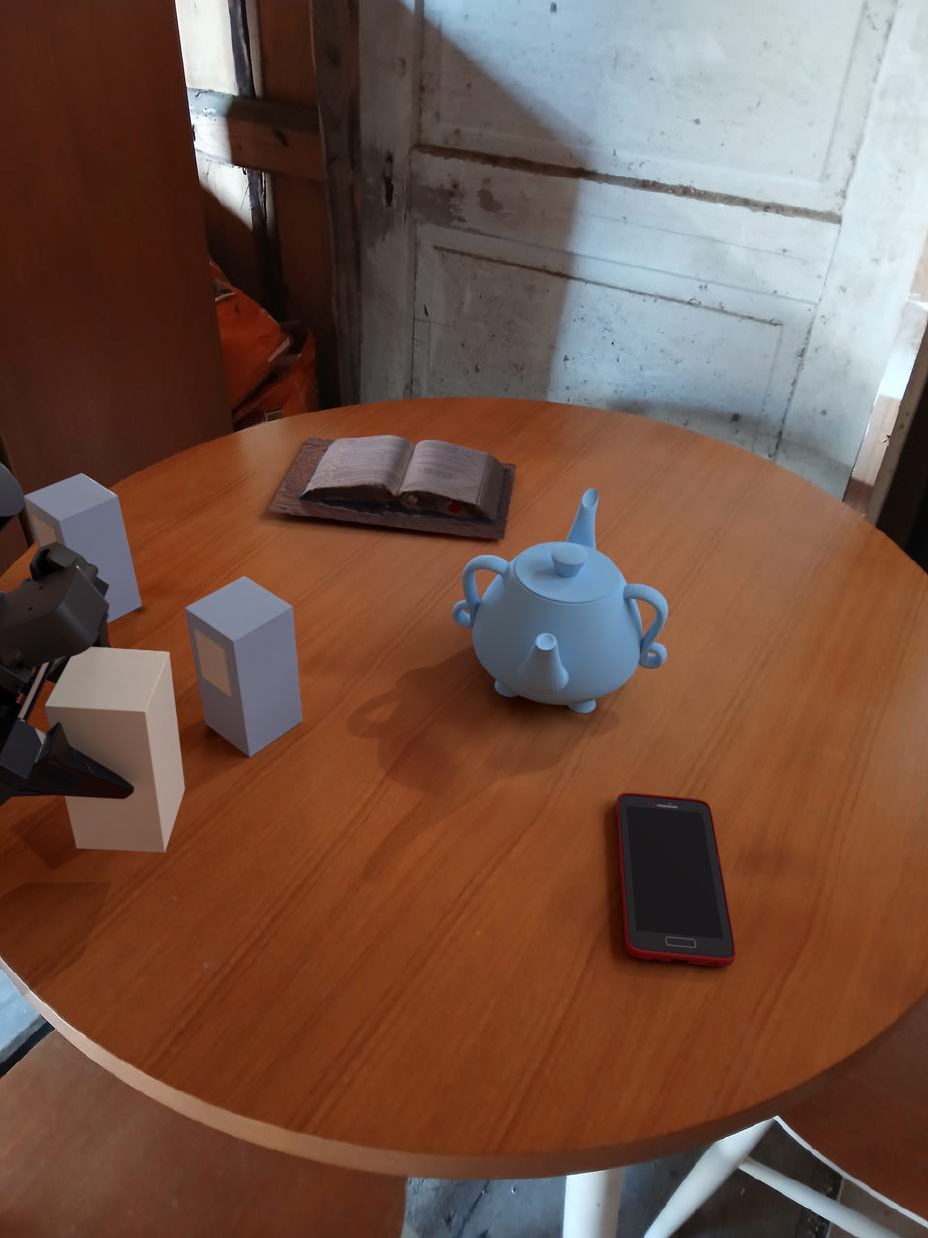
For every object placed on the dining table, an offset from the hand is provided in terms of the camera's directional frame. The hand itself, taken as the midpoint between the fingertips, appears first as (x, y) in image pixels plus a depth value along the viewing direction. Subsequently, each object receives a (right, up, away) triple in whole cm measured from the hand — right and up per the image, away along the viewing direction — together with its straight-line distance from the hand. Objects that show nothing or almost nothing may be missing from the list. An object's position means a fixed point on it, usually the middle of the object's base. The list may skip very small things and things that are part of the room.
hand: (142, 752), depth 60 cm
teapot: (+30, +4, +27) cm, 40 cm away
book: (+13, +25, +52) cm, 59 cm away
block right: (+3, 0, +20) cm, 20 cm away
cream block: (-2, -5, +4) cm, 7 cm away
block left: (-15, +10, +31) cm, 36 cm away
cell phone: (+37, -11, +9) cm, 40 cm away
